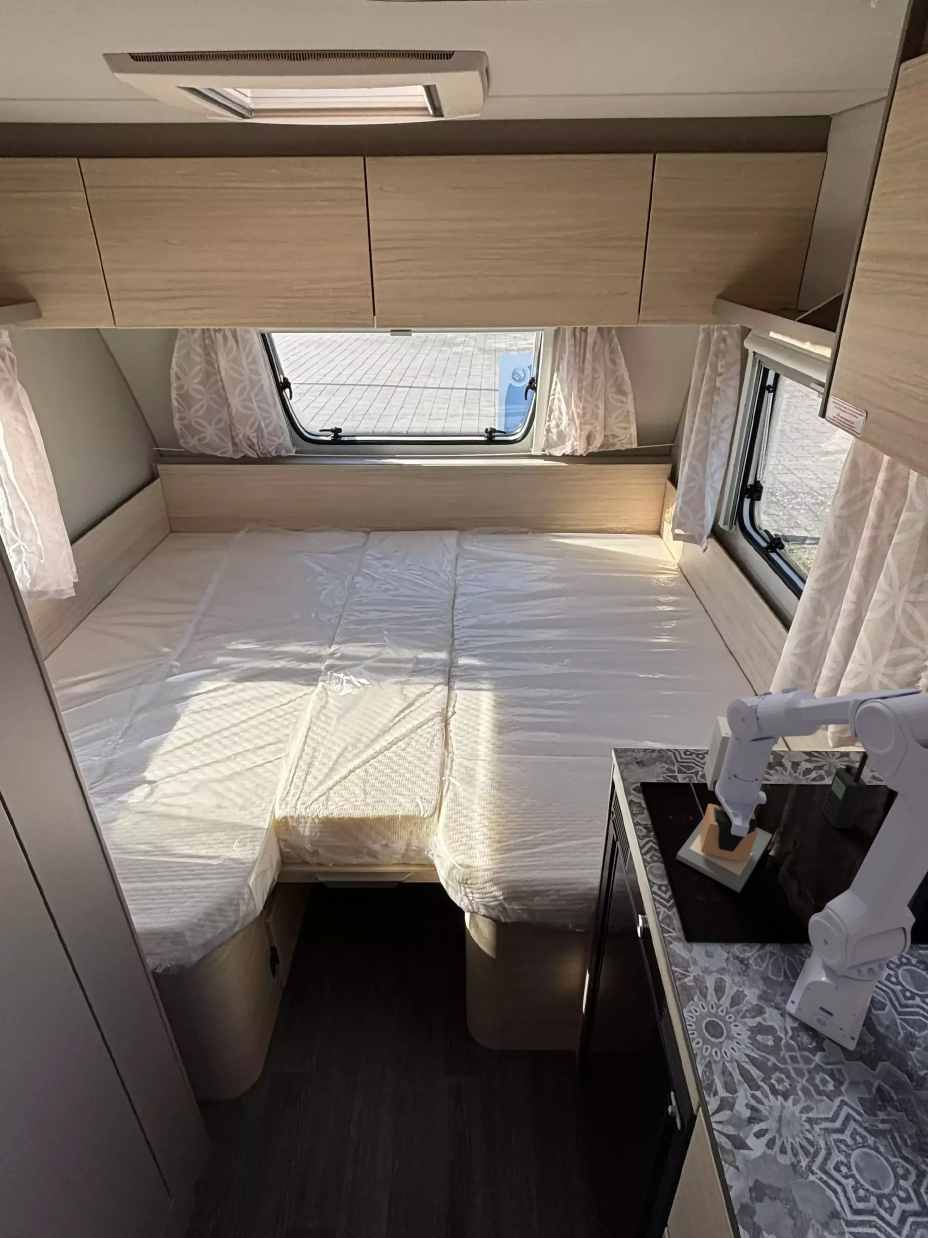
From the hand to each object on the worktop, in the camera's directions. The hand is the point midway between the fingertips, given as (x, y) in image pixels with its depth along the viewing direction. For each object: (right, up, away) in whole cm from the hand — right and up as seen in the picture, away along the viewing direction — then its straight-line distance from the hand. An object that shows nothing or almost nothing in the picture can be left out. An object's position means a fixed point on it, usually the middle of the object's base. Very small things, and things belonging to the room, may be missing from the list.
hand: (724, 836), depth 108 cm
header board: (+1, -3, +3) cm, 5 cm away
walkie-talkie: (+23, 0, +10) cm, 25 cm away
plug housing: (0, -2, +1) cm, 2 cm away
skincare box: (+5, +4, +18) cm, 19 cm away
